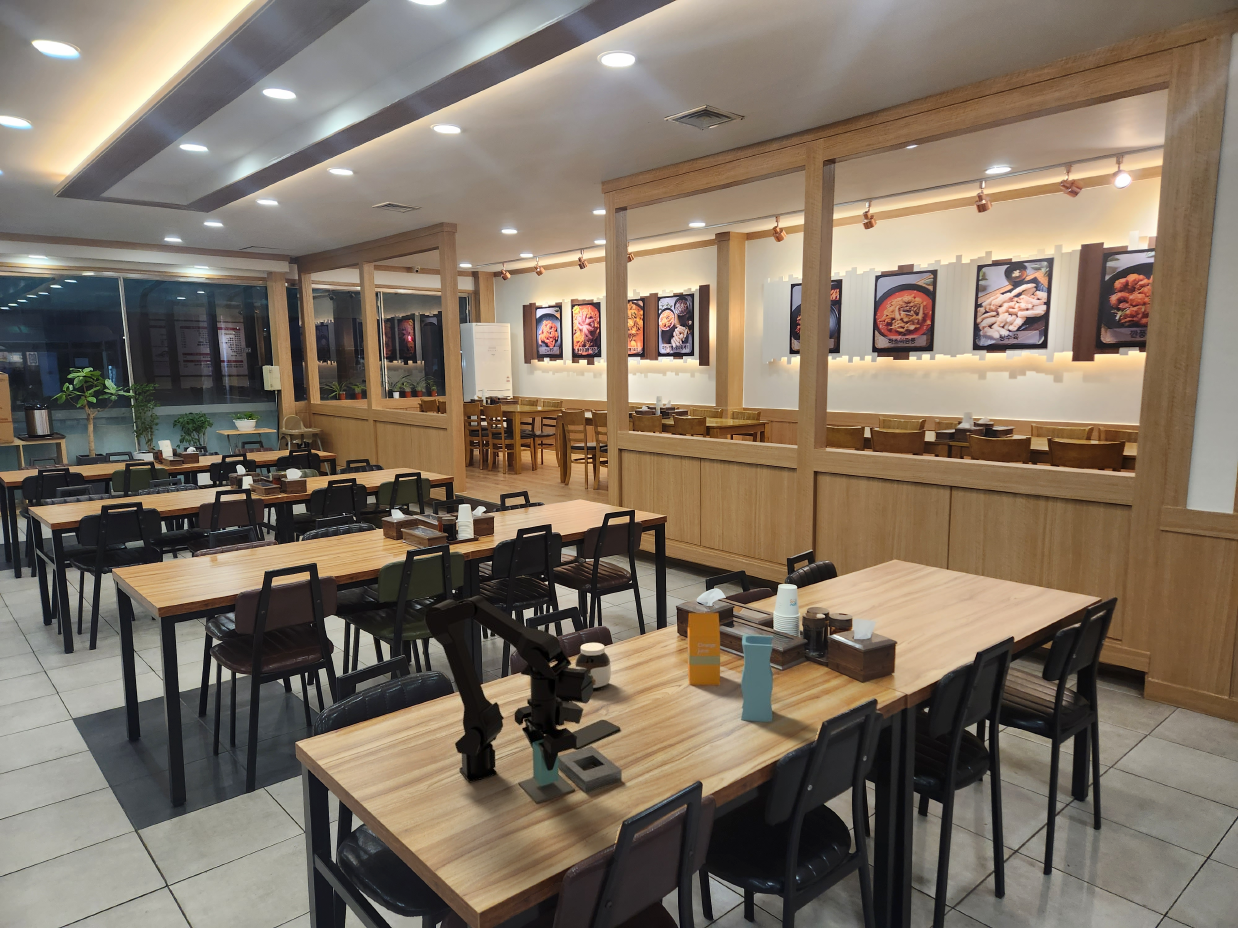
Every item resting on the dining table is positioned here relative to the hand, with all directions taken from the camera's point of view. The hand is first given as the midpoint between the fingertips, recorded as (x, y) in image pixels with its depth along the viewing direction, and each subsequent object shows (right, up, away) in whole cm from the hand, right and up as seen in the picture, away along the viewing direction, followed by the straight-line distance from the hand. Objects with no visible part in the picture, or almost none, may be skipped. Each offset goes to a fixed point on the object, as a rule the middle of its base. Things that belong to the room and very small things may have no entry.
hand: (545, 765), depth 161 cm
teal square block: (0, -3, 0) cm, 3 cm away
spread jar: (+7, 0, +53) cm, 54 cm away
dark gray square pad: (0, -5, 0) cm, 5 cm away
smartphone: (+9, -3, +25) cm, 26 cm away
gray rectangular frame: (+9, -4, +6) cm, 12 cm away
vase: (+52, -1, +35) cm, 62 cm away
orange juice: (+40, +1, +58) cm, 71 cm away
